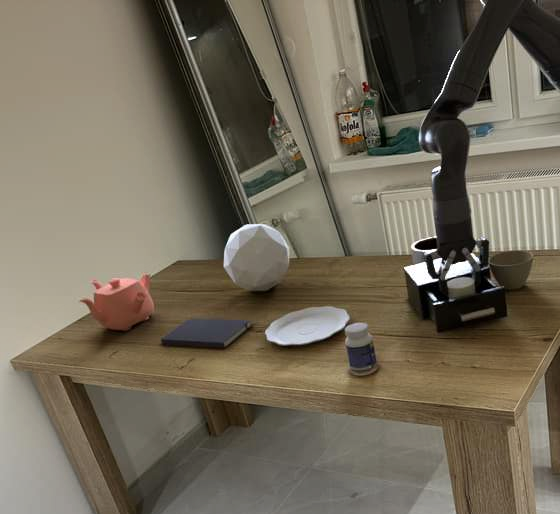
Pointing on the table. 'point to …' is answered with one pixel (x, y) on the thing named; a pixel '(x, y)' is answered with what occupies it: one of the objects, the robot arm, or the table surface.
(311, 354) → the table surface
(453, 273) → the cabinet
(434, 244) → the planter
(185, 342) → the notebook
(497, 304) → the drawer
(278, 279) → the ball
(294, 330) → the plate
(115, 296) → the teapot
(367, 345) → the pill bottle
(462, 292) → the grey round puck
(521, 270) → the flower pot
